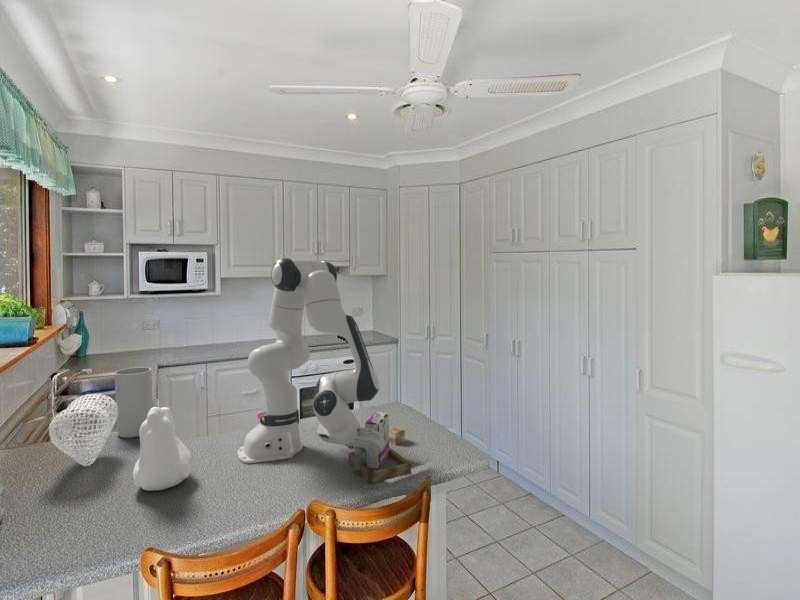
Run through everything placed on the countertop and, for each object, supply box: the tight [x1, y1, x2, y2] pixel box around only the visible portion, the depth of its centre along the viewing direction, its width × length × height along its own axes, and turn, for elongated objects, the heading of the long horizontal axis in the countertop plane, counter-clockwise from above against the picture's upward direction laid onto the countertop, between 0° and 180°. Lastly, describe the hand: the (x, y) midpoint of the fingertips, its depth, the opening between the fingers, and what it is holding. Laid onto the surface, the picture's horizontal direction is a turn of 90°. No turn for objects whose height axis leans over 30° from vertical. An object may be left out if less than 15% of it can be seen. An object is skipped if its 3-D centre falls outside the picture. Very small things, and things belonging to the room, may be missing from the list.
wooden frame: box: [347, 446, 412, 484], centre depth 148 cm, size 16×17×13 cm
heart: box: [48, 393, 118, 467], centre depth 151 cm, size 28×16×22 cm, turn 20°
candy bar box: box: [364, 411, 390, 472], centre depth 150 cm, size 11×5×16 cm, turn 165°
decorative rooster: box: [132, 406, 192, 491], centre depth 141 cm, size 25×16×25 cm, turn 5°
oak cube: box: [389, 426, 406, 446], centre depth 167 cm, size 4×4×4 cm
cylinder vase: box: [113, 366, 154, 439], centre depth 181 cm, size 12×12×25 cm
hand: (359, 447), depth 146 cm, fingers open, 4 cm apart
